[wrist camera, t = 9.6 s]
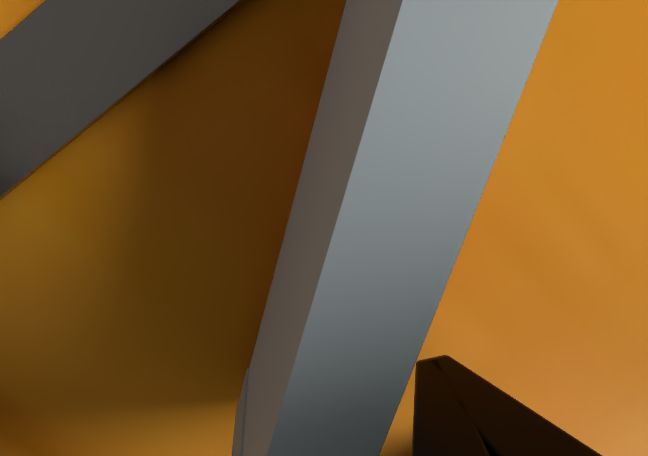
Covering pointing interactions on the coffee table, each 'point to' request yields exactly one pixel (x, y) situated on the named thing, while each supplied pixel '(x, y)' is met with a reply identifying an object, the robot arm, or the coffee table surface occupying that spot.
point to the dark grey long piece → (83, 68)
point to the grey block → (381, 215)
